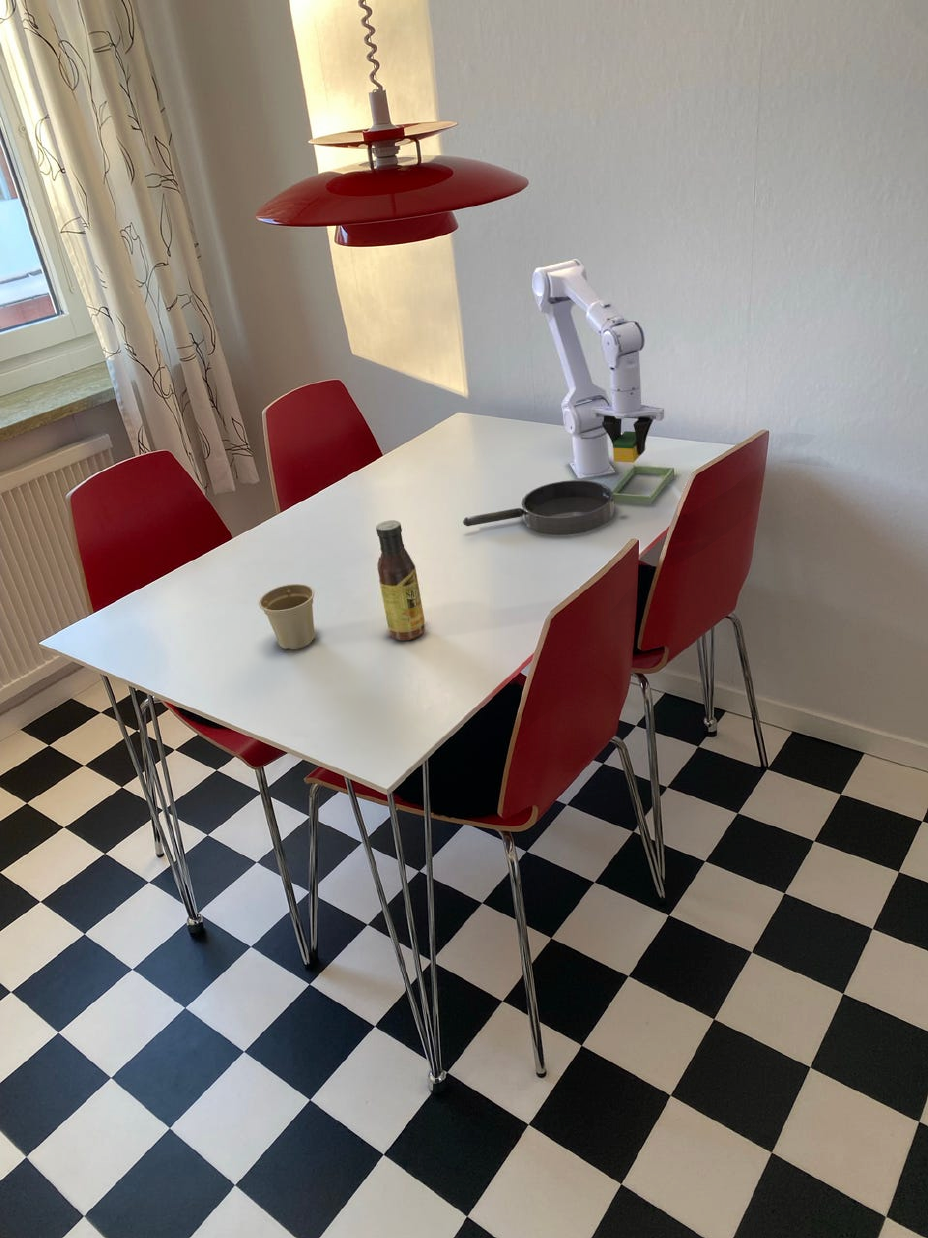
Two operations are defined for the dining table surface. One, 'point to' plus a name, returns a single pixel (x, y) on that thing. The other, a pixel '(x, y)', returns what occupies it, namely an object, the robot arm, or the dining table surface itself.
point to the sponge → (626, 448)
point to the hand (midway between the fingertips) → (629, 452)
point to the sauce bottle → (399, 584)
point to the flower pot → (290, 614)
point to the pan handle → (493, 517)
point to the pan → (568, 507)
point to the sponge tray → (662, 471)
